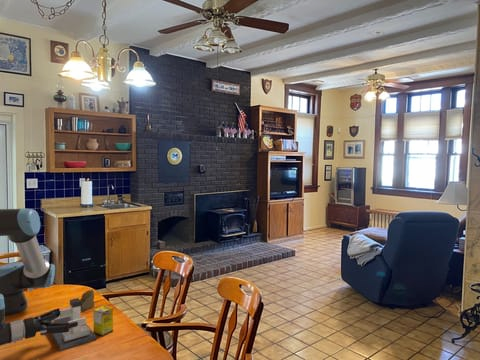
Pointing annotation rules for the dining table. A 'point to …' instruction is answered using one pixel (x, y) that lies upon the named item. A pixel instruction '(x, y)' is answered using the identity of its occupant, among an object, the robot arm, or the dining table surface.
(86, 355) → the dining table surface
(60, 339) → the base
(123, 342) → the dining table surface
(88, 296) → the rock
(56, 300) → the dining table surface
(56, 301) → the dining table surface
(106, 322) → the supplement box
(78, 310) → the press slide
